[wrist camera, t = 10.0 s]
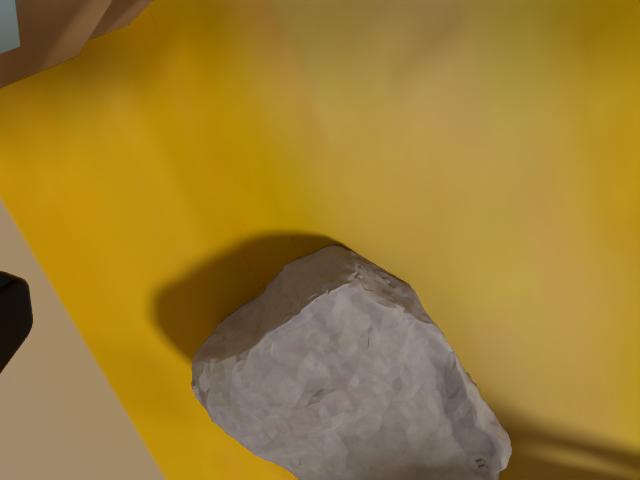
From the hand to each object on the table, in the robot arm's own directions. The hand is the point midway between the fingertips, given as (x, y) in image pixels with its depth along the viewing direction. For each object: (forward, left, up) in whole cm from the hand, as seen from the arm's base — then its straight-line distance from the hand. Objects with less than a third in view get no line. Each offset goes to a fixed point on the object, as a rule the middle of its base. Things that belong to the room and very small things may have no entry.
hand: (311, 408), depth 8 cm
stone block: (+9, +8, -14) cm, 18 cm away
